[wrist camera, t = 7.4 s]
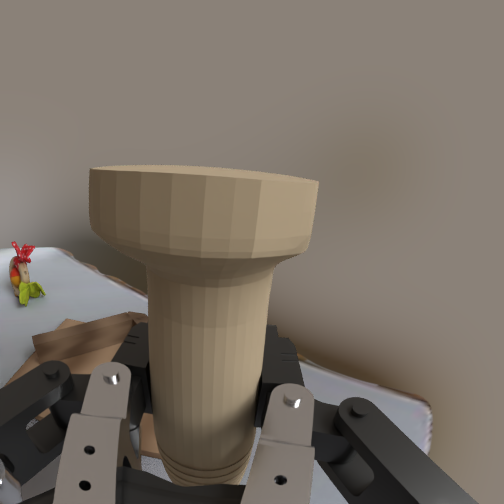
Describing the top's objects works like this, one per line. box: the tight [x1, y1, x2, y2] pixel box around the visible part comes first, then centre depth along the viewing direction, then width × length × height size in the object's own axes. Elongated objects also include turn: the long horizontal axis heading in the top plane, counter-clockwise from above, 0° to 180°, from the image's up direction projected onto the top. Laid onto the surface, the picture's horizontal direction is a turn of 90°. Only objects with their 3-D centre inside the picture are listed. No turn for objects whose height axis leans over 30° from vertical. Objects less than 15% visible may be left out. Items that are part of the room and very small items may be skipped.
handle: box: [89, 165, 319, 487], centre depth 9 cm, size 5×6×15 cm
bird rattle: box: [9, 242, 46, 306], centre depth 37 cm, size 6×11×9 cm
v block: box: [4, 312, 161, 459], centre depth 27 cm, size 24×18×4 cm
